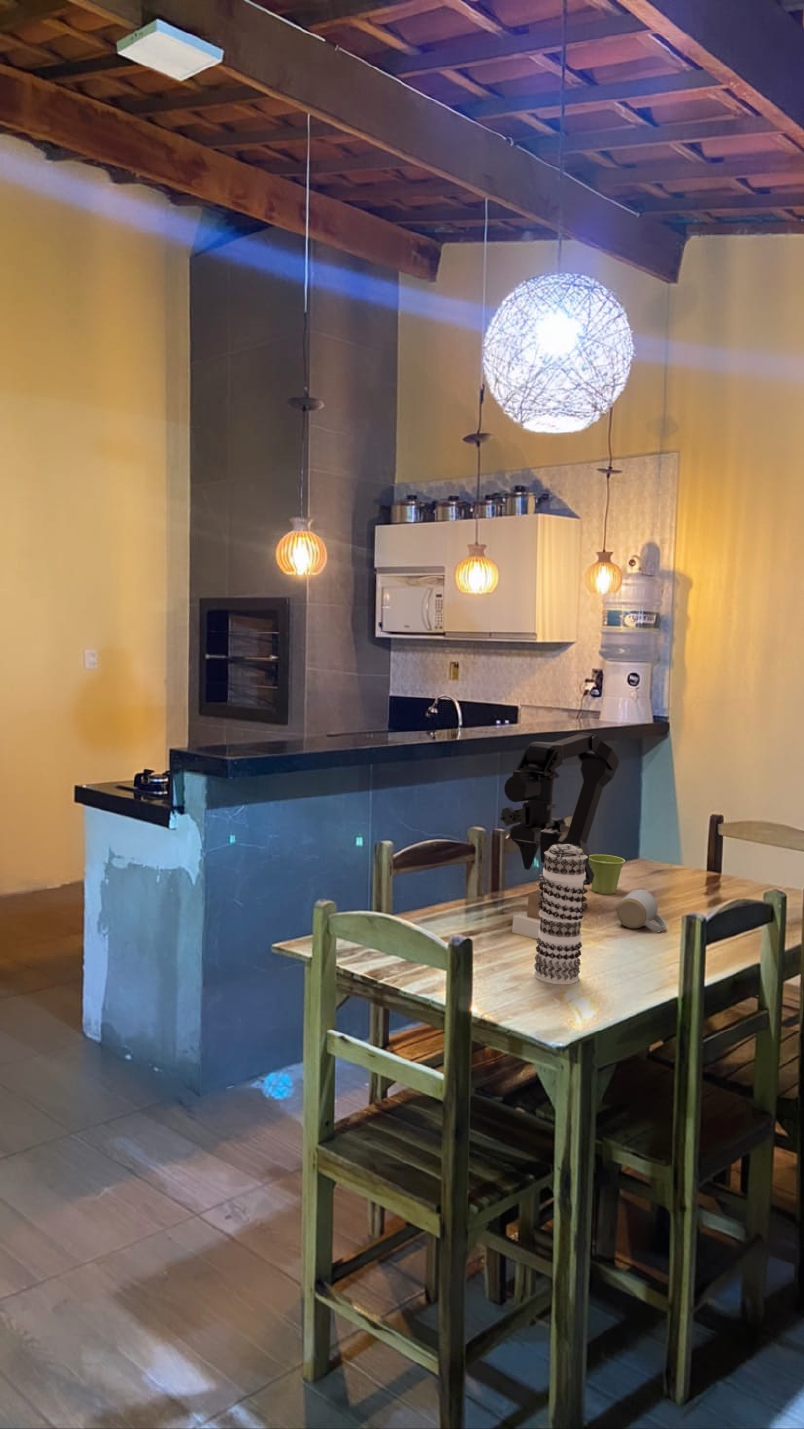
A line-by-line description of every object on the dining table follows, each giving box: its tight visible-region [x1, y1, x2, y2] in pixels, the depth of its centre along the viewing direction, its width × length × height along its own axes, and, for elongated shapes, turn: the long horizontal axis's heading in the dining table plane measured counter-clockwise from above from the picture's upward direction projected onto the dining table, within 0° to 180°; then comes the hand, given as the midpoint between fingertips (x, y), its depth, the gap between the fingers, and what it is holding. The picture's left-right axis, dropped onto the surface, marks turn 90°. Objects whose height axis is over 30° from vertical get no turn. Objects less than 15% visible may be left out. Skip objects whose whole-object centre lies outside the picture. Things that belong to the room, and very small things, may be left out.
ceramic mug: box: [616, 889, 667, 933], centre depth 231 cm, size 11×8×8 cm
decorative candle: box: [533, 844, 589, 986], centre depth 192 cm, size 9×9×25 cm
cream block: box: [511, 911, 540, 939], centre depth 221 cm, size 9×9×4 cm
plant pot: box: [588, 854, 626, 895], centre depth 262 cm, size 9×9×9 cm
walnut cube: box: [526, 889, 542, 920], centre depth 221 cm, size 5×5×5 cm
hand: (535, 865), depth 232 cm, fingers open, 9 cm apart
